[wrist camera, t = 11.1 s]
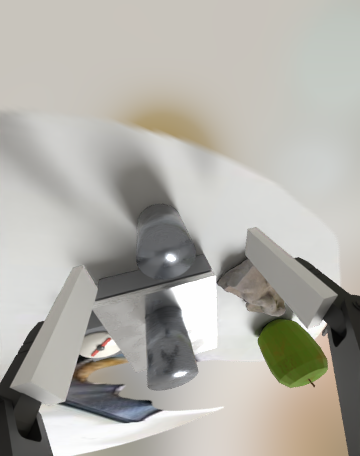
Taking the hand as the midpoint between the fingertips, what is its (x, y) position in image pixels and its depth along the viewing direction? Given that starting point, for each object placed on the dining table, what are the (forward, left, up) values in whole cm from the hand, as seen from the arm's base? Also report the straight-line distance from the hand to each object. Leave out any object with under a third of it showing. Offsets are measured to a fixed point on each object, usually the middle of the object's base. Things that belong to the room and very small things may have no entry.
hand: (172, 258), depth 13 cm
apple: (+21, -34, -7) cm, 40 cm away
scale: (-5, -15, -6) cm, 17 cm away
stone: (+14, -15, -7) cm, 21 cm away
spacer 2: (-2, -12, -2) cm, 12 cm away
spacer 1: (0, 0, -6) cm, 6 cm away
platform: (-2, -15, -3) cm, 16 cm away
